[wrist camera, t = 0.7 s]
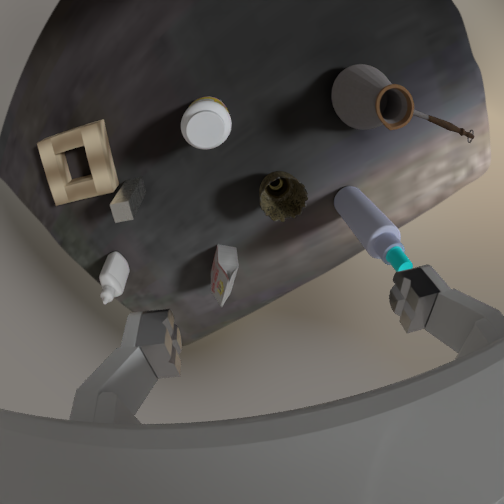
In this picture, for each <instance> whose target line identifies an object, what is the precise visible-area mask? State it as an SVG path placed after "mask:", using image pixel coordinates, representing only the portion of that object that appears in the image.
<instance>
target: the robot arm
mask: <svg viewBox="0 0 504 504" xmlns="http://www.w3.org/2000/svg"><path fill="white" fill-rule="evenodd" d="M393 282H394V283H395V285H394V286H393V287H392V289H391V290H390V295H389V299H390V305H391V308H392V310H393V312H394V313H395V314H397V315H399V316H400V323H401V325H402V326H403V328H404V330H405V331H406V333H410V332H413V331H417V330H421V329H425V330H426V331H427V332H429V333H430V334H432V335H433V336H435V337H436V338H437V339H439V340H440V341H442V342H443V343H444V344H446V345H447V346H449V347H450V348H452V349H453V350H454V351H456V352H457V353H458V355H457V357H456V358H455V360H454V361H452V362H449V363H447V364H444V365H442V366H439V367H437V368H434V369H432V370H429V371H427V372H425V373H422V374H419V375H416V376H414V377H411V378H408V379H406V380H402V381H400V382H396V383H394V384H390V385H387V386H385V387H381V388H378V389H375V390H371V391H368V392H365V393H361V394H358V395H354V396H350V397H347V398H343V399H339V400H335V401H331V402H327V403H323V404H318V405H314V406H309V407H304V408H299V409H295V410H290V411H284V412H278V413H273V414H266V415H259V416H253V417H245V418H237V419H228V420H220V421H208V422H194V423H175V424H141V423H140V422H139V420H138V419H137V418H136V417H135V416H134V415H135V414H136V412H137V411H138V409H139V408H140V406H141V405H142V403H143V401H144V400H145V399H146V397H147V396H148V394H149V393H150V391H151V389H152V388H153V386H154V385H155V383H156V382H157V380H158V378H169V377H178V376H180V375H181V374H180V373H181V360H180V357H179V354H180V352H181V351H182V342H181V335H180V331H179V328H178V326H177V325H176V324H174V315H173V312H172V310H170V309H165V310H154V311H143V312H134V313H130V314H129V315H128V318H127V321H126V326H125V330H124V334H123V338H122V342H121V347H120V348H116V349H115V350H114V351H113V352H112V353H111V354H110V356H108V358H107V359H106V360H105V361H104V362H103V363H102V364H101V365H100V366H99V367H98V368H97V369H96V370H95V371H94V372H93V373H92V375H90V376H89V377H88V378H87V380H86V381H85V382H84V383H83V384H82V385H81V386H80V387H79V388H78V389H77V390H76V394H75V398H74V402H73V407H72V411H71V415H70V420H63V419H55V418H48V417H41V416H35V415H29V414H23V413H18V412H13V411H8V410H4V409H0V504H504V316H503V315H502V314H501V312H500V311H499V310H497V309H495V308H493V307H491V306H489V305H487V304H485V303H483V302H481V301H479V300H477V299H475V298H472V297H471V296H469V295H466V294H464V293H462V292H460V291H458V290H456V289H451V288H450V287H449V286H448V285H447V284H446V283H445V281H444V280H443V279H442V278H441V277H440V276H439V274H438V273H437V272H436V271H435V270H434V269H433V268H432V266H430V265H424V266H419V267H417V268H411V269H407V270H403V271H398V272H396V273H395V275H394V277H393Z"/></svg>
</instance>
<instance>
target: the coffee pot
mask: <svg viewBox="0 0 504 504" xmlns="http://www.w3.org/2000/svg"><path fill="white" fill-rule="evenodd" d="M331 99H332V104H333V107H334V110H335V112H336V114H337V115H338V116H339V118H340V119H341V120H342V121H343V122H344V123H345V124H347V125H348V126H350V127H352V128H355V129H359V130H369V129H373V128H376V127H378V126H381V125H383V124H384V125H385V127H387V128H388V129H389V130H395V129H398V128H401V127H403V126H405V125H406V124H407V123H409V121H410V120H411V118H412V116H413V115H414V116H417V117H420V118H423V119H426V120H428V121H430V122H432V123H434V124H436V125H439V126H441V127H443V128H445V129H447V130H450V131H454V132H457V133H459V134H460V135H461V136H462V135H465V136H467V137H468V143H471V141H472V139H473V138H474V131H473V130H470V132H471V131H472V134H471V133H470V132H466V131H465V130H464V129H463V128H461V129H460V128H458V127H457V126H455V125H453V124H452V123H450V122H447V121H444V120H441V119H438V118H436V117H433V116H430V115H426V114H423V113H421V112H418V111H416V110H414V102H413V99H412V96H411V94H410V93H409V91H407V90H406V89H405V88H404V87H402V86H401V85H397V84H391V82H390V81H389V80H388V79H387V77H386V76H385V75H384V74H383V73H382V72H380V71H379V70H378V69H376V68H374V67H372V66H370V65H364V64H358V65H352V66H350V67H348V68H345V69H344V70H343V71H342V72H341V73H339V75H338V76H337V78H336V79H335V81H334V84H333V87H332V95H331ZM469 138H471V140H470V142H469Z"/></svg>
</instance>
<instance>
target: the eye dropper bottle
mask: <svg viewBox="0 0 504 504" xmlns="http://www.w3.org/2000/svg"><path fill="white" fill-rule="evenodd" d="M129 271H130V270H129V265H128V263H127V261H126V259H125V258H124V257H123V256H122V255H121V254H120V253H118V252H116V251H115V252H112V253H110V254H109V255H108V256H107V259H106V261H105V263H104V266H103V268H102V270H101V273H100V276H99V279H100V283H101V286H102V288H103V289H102V292H101V295H100V296H101V299H102V300H103V303H104V304H106V303H107V302H111V301H112V300H113V298H114V297H117V296H120V295H121V294H122V293H123V290H124V287H125V284H126V281H127V277H128V274H129Z"/></svg>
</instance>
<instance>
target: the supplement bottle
mask: <svg viewBox="0 0 504 504" xmlns="http://www.w3.org/2000/svg"><path fill="white" fill-rule="evenodd" d="M230 131H231V118H230V115H229V112H228V110H227V108H226V106H225V105H224V103H223V102H222V101H220V100H219V99H217V98H214V97H201V98H199V99H197V100H195V101H194V102H193V103H192V104H191V105H190V106H189V107H188V109H187V110H186V111H185V113H184V115H183V117H182V120H181V132H182V135H183V137H184V138H185V140H186V141H187V142H188V143H189V144H190V145H192V146H193V147H196V148H199V149H211V148H215V147H217V146H219V145H221V144H222V143H223V142H224V141H225V140H226V139H227V137H228V136H229V134H230Z"/></svg>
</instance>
